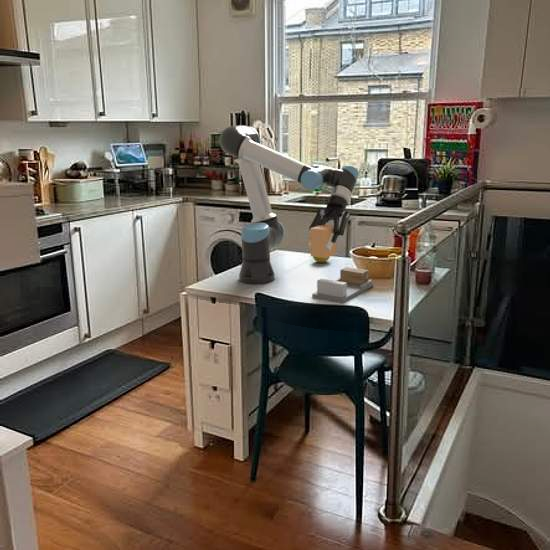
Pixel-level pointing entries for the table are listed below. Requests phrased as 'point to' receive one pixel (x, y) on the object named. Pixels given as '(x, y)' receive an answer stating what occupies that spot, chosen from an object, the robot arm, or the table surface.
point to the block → (322, 241)
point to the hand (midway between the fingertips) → (319, 247)
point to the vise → (339, 290)
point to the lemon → (320, 259)
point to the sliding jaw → (353, 275)
